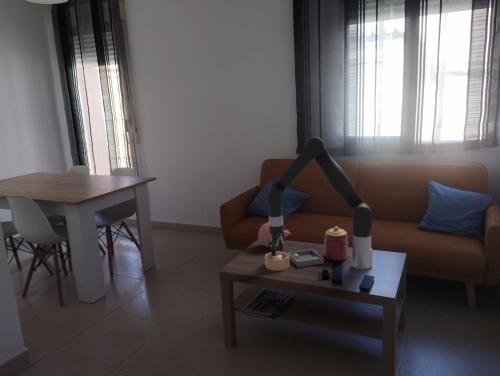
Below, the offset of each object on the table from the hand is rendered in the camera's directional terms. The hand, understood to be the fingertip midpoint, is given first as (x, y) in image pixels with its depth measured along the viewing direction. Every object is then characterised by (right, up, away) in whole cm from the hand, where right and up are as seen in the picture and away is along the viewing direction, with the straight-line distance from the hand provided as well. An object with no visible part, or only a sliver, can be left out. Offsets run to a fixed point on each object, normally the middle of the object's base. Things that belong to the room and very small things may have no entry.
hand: (277, 253), depth 219 cm
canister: (+34, -4, +11) cm, 36 cm away
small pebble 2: (+21, -5, +5) cm, 22 cm away
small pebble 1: (+11, -4, +11) cm, 16 cm away
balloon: (+1, -1, +30) cm, 30 cm away
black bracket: (+23, -10, -14) cm, 28 cm away
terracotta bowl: (0, -7, +2) cm, 7 cm away
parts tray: (+16, -5, +8) cm, 18 cm away
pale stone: (0, -6, +2) cm, 7 cm away
